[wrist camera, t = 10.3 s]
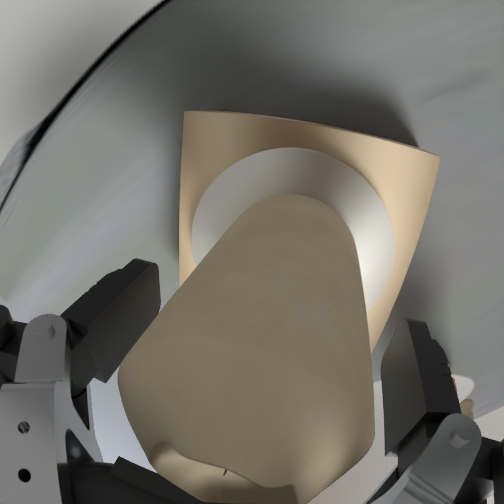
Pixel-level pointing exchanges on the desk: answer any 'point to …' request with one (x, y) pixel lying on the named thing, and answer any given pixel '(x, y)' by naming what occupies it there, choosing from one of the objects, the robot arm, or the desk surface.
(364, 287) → the candle stand
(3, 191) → the desk surface
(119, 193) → the desk surface
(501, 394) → the desk surface
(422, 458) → the robot arm
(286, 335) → the candle
